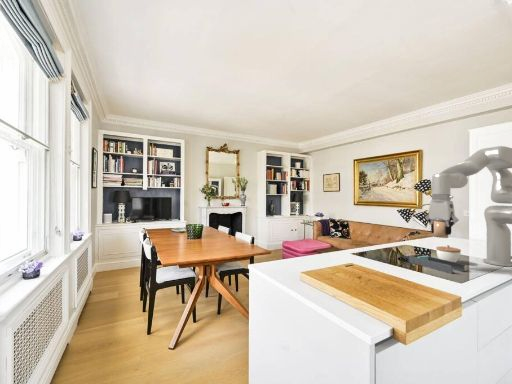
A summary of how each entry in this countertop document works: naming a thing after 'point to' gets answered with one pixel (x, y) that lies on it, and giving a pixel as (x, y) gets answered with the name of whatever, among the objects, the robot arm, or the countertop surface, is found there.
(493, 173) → the robot arm
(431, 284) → the countertop surface
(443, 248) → the lidded jar
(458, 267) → the lane
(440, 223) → the jar
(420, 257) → the pusher
